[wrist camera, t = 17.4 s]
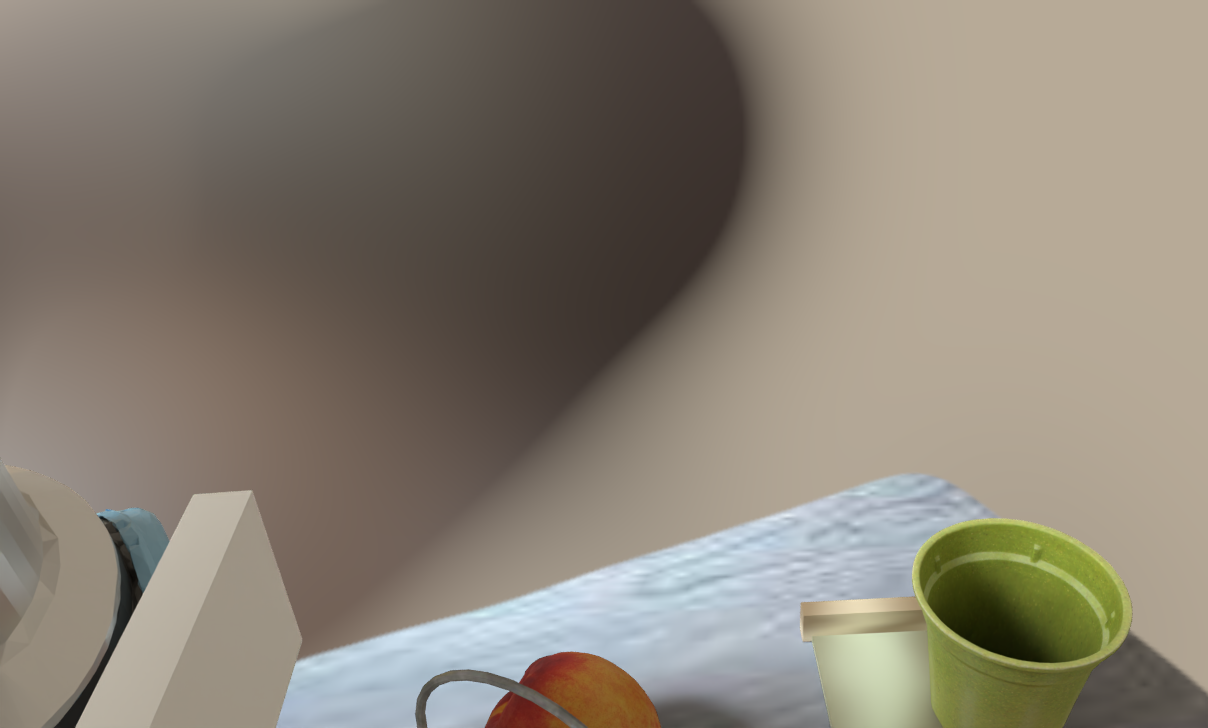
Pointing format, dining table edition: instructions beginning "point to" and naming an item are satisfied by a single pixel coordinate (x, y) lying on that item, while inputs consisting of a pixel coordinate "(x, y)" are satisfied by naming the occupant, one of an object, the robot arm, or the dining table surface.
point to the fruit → (577, 695)
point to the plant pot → (1014, 621)
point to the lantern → (497, 681)
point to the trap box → (871, 661)
